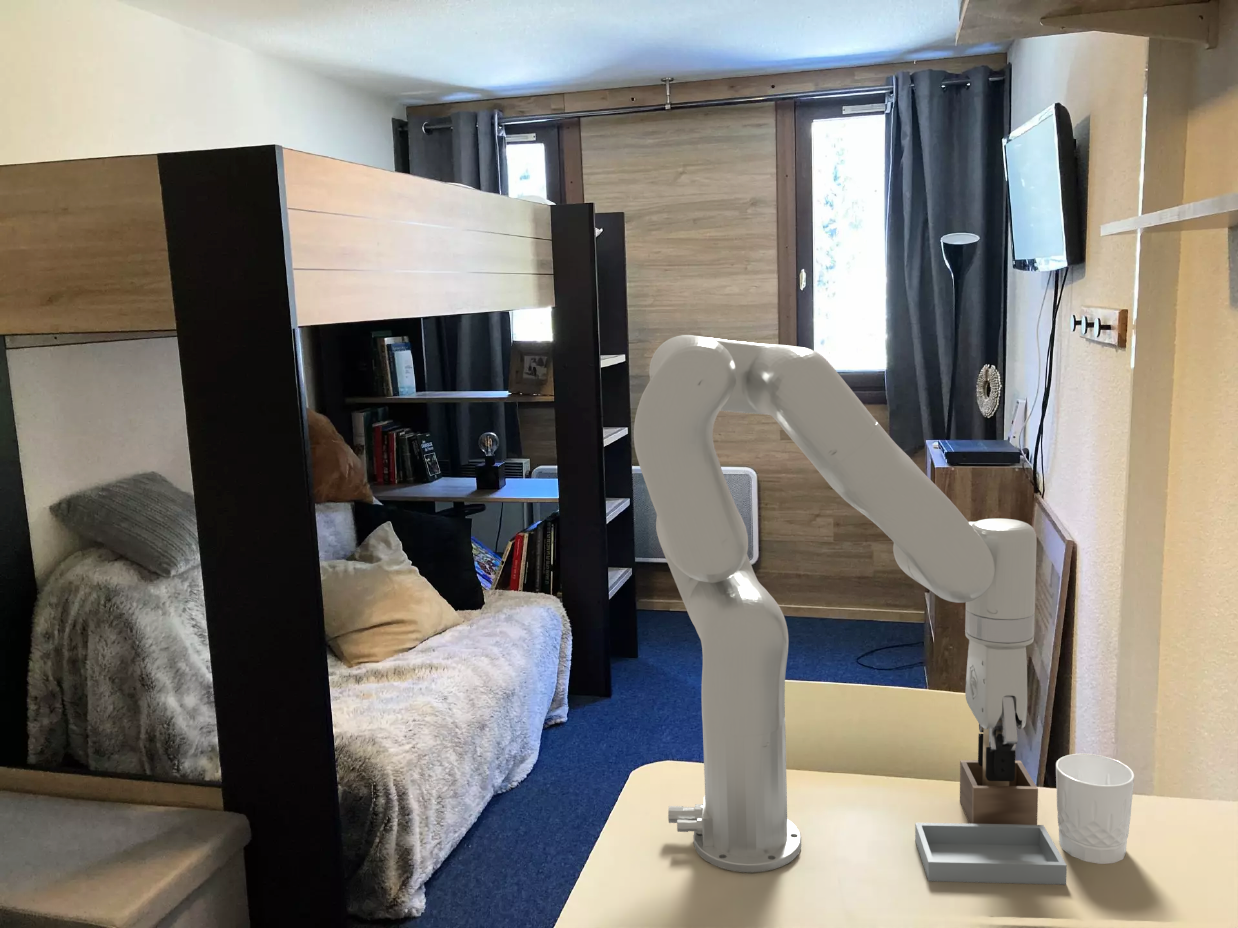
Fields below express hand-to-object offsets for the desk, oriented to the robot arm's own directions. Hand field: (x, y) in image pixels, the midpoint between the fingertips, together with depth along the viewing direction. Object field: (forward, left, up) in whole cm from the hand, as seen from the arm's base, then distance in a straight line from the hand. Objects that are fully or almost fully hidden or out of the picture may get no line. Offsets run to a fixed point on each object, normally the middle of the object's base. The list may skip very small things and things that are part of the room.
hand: (996, 771), depth 118 cm
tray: (-3, -10, -6) cm, 12 cm away
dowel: (0, 0, -6) cm, 6 cm away
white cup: (+9, -6, -7) cm, 13 cm away
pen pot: (0, 0, -6) cm, 6 cm away
